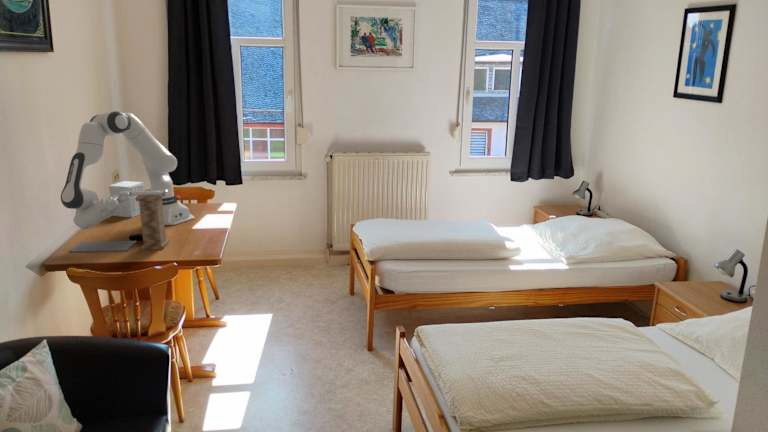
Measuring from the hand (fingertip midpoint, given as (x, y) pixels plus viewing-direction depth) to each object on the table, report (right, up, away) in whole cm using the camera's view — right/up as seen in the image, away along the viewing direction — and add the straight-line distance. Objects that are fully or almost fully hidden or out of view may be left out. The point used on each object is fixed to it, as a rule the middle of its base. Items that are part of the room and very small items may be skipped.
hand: (131, 192), depth 283 cm
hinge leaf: (+6, -1, +1) cm, 6 cm away
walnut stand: (+8, -25, +8) cm, 28 cm away
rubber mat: (-16, -26, +6) cm, 31 cm away
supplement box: (-27, -10, +63) cm, 69 cm away
